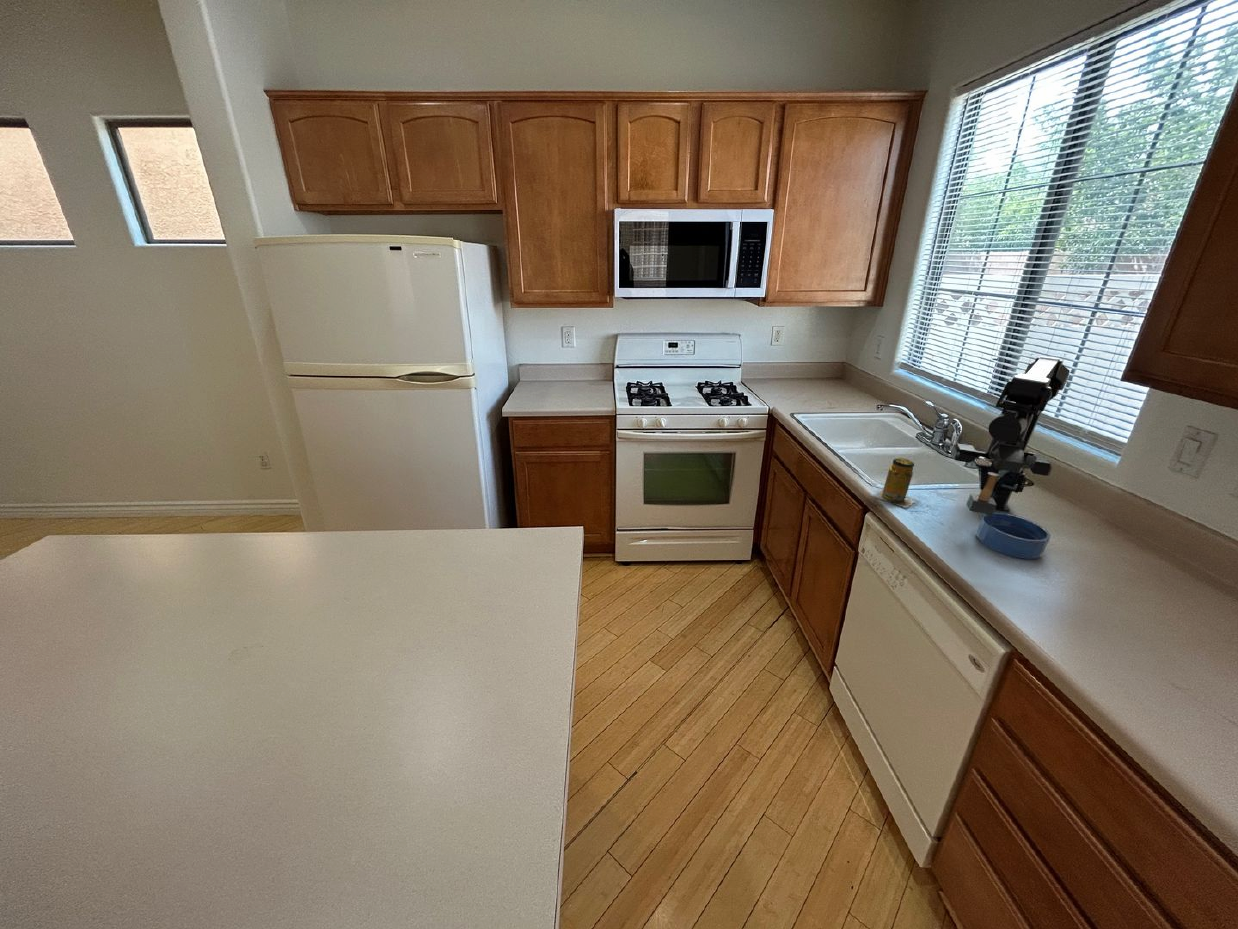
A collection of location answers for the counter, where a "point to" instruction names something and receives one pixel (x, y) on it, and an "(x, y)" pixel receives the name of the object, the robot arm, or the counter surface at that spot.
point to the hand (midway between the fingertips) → (986, 490)
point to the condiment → (898, 483)
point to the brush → (984, 497)
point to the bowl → (1013, 535)
